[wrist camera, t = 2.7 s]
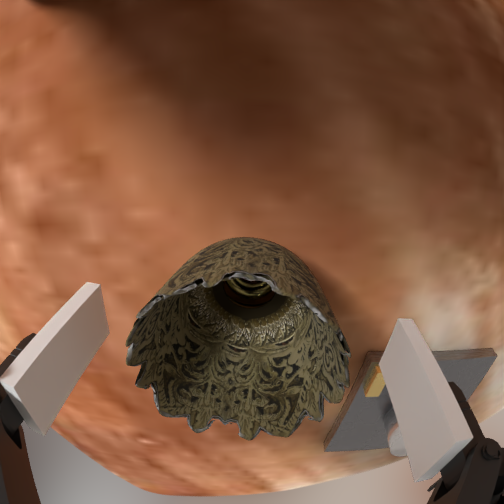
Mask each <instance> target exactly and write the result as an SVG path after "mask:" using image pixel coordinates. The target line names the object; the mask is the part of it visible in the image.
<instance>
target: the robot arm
mask: <svg viewBox="0 0 504 504" xmlns="http://www.w3.org/2000/svg"><path fill="white" fill-rule="evenodd" d="M109 333H110V332H109V327H108V323H107V318H106V313H105V307H104V302H103V296H102V290H101V284H95V283H90V282H86V283H85V284H84V285H83V286H82V287H81V288H80V289H79V290H78V291H77V292H76V293H75V294H74V295H73V296H72V297H71V298H70V299H69V300H68V301H67V302H66V303H65V305H64V306H63V307H62V308H61V309H60V310H59V311H58V312H57V313H56V314H55V315H54V316H53V317H52V318H51V319H50V320H49V321H48V323H47V324H46V325H45V326H44V327H43V328H42V329H41V330H40V331H39V332H38V334H35V333H32V334H31V335H29V336H27V337H26V338H24V339H23V340H22V341H21V342H20V343H19V344H18V345H17V347H16V349H14V350H13V351H12V352H11V355H9V356H8V357H7V358H6V359H5V360H4V361H3V363H2V364H1V365H0V504H41V503H40V499H39V496H38V493H37V489H36V486H35V482H34V479H33V475H32V471H31V467H30V462H29V458H28V453H27V448H26V443H25V439H24V432H23V429H22V426H21V423H22V422H23V420H24V421H25V422H26V424H27V425H28V426H29V428H30V429H32V430H34V431H36V432H37V433H39V434H41V435H43V436H45V435H46V433H47V431H48V430H49V428H50V426H51V425H52V423H53V421H54V419H55V418H56V416H57V414H58V413H59V411H60V409H61V408H62V406H63V404H64V403H65V401H66V399H67V398H68V396H69V394H70V393H71V391H72V390H73V388H74V386H75V385H76V383H77V382H78V380H79V379H80V377H81V375H82V374H83V372H84V371H85V369H86V368H87V366H88V365H89V363H90V362H91V360H92V358H93V357H94V355H95V354H96V352H97V351H98V349H99V348H100V346H101V345H102V343H103V342H104V340H105V339H106V338H107V336H108V335H109ZM379 366H380V369H381V372H382V375H383V378H384V381H385V384H386V387H387V390H388V393H389V396H390V399H391V402H392V405H393V408H394V411H395V414H396V418H397V421H398V424H399V427H400V431H401V434H402V438H403V441H404V445H405V448H406V452H407V455H408V459H409V463H410V466H411V470H412V474H413V478H414V482H419V481H423V480H428V479H431V478H433V477H434V476H435V475H436V474H437V473H438V472H439V471H440V472H441V475H442V477H441V478H440V479H439V480H438V481H437V482H436V483H434V484H433V485H432V486H430V488H429V489H428V491H431V490H432V489H433V488H435V489H434V491H433V493H432V495H431V497H430V499H429V501H428V503H427V504H504V448H501V447H500V445H499V444H498V443H497V442H496V441H495V440H493V439H490V438H485V437H484V435H483V433H482V431H481V429H480V426H479V424H478V422H477V420H476V418H475V416H474V414H473V412H472V410H470V406H469V404H468V402H466V398H465V396H464V394H463V392H462V390H461V389H460V388H459V387H458V386H457V385H456V384H455V383H454V382H447V380H446V378H445V376H444V374H443V373H442V371H441V369H440V367H439V365H438V363H437V361H436V359H435V358H434V356H433V354H432V352H431V350H430V348H429V347H428V345H427V343H426V341H425V340H424V338H423V336H422V334H421V333H420V331H419V329H418V327H417V326H416V324H415V322H414V321H413V319H405V318H398V320H397V322H396V325H395V327H394V330H393V332H392V335H391V337H390V339H389V342H388V344H387V346H386V349H385V351H384V353H383V356H382V358H381V360H380V362H379Z"/></svg>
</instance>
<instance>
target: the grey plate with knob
mask: <svg viewBox="0 0 504 504" xmlns="http://www.w3.org/2000/svg"><path fill="white" fill-rule="evenodd" d="M383 353H384V352H368V354H367V356H366V358H365V361H364V363H363V365H362V368H361V370H360V372H359V374H358V377H357V379H356V381H355V383H354V385H353V387H352V389H351V391H350V394H349V396H348V398H347V400H346V402H345V404H344V406H343V408H342V410H341V412H340V414H339V416H338V417H337V419H336V421H335V423H334V425H333V427H332V429H331V431H330V432H329V434H328V436H327V438H326V440H325V441H324V452H329V451H354V450H369V449H380V448H390V452H391V454H392V455H394V456H400V457H401V456H408V455H407V452H406V448H405V445H404V441H403V438H402V434H401V431H400V427H399V424H398V421H397V418H396V414H395V411H394V408H393V405H392V402H391V399H390V396H389V393H388V390H387V387H386V384H385V381H384V378H383V375H382V372H381V369H380V366H379V362H380V360H381V358H382V356H383ZM432 354H433V356H434V358H435V359H436V361H437V363H438V365H439V367H440V369H441V371H442V373H443V374H444V376H445V378H446V380H447V382H454V383H455V384H456V385H457V386H458V387H459V388H460V389H461V390H462V392H463V394H464V396H465V398H466V401H467V400H468V399H469V397H470V396H471V395H472V393H473V392H474V390H475V389H476V388H477V386H478V385H479V383H480V382H481V380H482V379H483V378H484V376H485V375H486V373H487V372H488V370H489V368H490V367H491V365H492V364H493V362H494V361H495V359H496V357H497V354H496V353H495V352H494V350H493V349H492V348H488V349H475V350H458V351H434V352H432Z"/></svg>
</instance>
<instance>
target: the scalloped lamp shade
mask: <svg viewBox="0 0 504 504" xmlns="http://www.w3.org/2000/svg"><path fill="white" fill-rule="evenodd" d="M240 278H243V279H246V280H249V281H254V280H260V281H261V282H259V283H255V284H250V283H246V282H244V281H243V280H241V279H240ZM136 318H138V319H137V320H136V322H135V323H134V326H133V329H132V330H131V332H130V334H129V336H128V338H127V341H126V347H128V346H129V345H130V347H129V348H128V353H127V358H126V364H127V365H129V366H138V365H141V364H142V365H141V369H140V372H139V374H138V376H137V379H136V383H135V385H136V386H137V387H139V388H144V389H147V388H149V387H152V388H153V392H154V401H155V404H156V407H157V409H158V411H159V413H160V414H161V415H162V416H165V417H187V421H188V425H189V427H190V428H191V429H192V430H193V431H194V432H196V433H200V432H203V431H205V430H207V429H209V427H210V426H211V424H212V423H213V421H215V420H212V421H210V420H211V419H212V418H214V419H219V420H220V421H221V422H222V423H223V424H224V425H226V424H229V423H228V422H234V423H237V424H238V426H239V429H240V430H239V432H240V433H238V434H239V435H240V437H242V438H244V439H246V440H252V439H254V438H255V437H256V436H257V435H258V434H259V432H260V431H261V429H262V431H264V432H266V433H267V434H269V435H273V436H280V437H289V436H290V435H291V434H292V433H293V432H294V431H295V430H296V429H297V428H298V426H299V425H300V424H301V422H302V420H303V419H304V417H305V416H308V415H309V417H312V419H311V418H308V419H311V420H315V421H319V422H320V421H321V420H322V419H323V416H324V405H323V403H324V398H325V399H326V400H327V401H328V402H329V403H340V402H341V400H342V399H343V395H344V391H345V389H344V385H345V386H346V387H347V388H349V386H350V380H349V370H348V363H349V361H348V357H350V358H351V353H350V349H349V347H348V344H347V342H346V339H345V337H344V335H343V333H342V331H341V329H340V327H339V324H338V322H337V320H336V318H335V316H334V313H333V311H332V309H331V307H330V305H329V303H328V301H327V299H326V297H325V295H324V293H323V291H322V289H321V287H320V285H319V283H318V282H317V280H316V278H315V277H314V275H313V274H312V273H311V271H310V270H309V268H308V267H307V266H306V265H305V264H304V263H303V262H302V261H301V260H300V259H299V258H298V257H297V256H296V255H295V254H293V253H292V252H291V251H289V250H288V249H286V248H284V247H282V246H280V245H279V244H276V243H273V242H271V241H267V240H264V239H258V238H250V237H240V238H231V239H226V240H223V241H219V242H217V243H214V244H212V245H210V246H208V247H206V248H204V249H203V250H201V251H200V252H198V253H197V254H195V255H194V256H193V257H191V258H190V259H189V260H188V261H187V262H186V263H185V264H184V265H183V266H182V267H181V268H180V269H178V271H177V272H176V273H175V274H174V275H173V276H172V277H171V278H170V279H169V280H168V281H167V282H166V283H165V285H164V286H163V287H162V288H161V289H160V290H159V291H158V292H157V294H156V295H155V296H154V297H153V298H152V299H151V300H150V301H149V302H148V304H147V305H145V306H144V307H143V308H142V309H141V310H140V312H139V313H138V314H137V316H136ZM345 350H346V352H348V353H349V354H348V353H346V352H345ZM346 355H347V356H348V357H347V356H346ZM150 384H151V386H150ZM307 413H308V415H307ZM209 421H210V423H209ZM208 423H209V424H208ZM230 424H232V423H230ZM207 426H208V427H207ZM206 427H207V428H206Z"/></svg>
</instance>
